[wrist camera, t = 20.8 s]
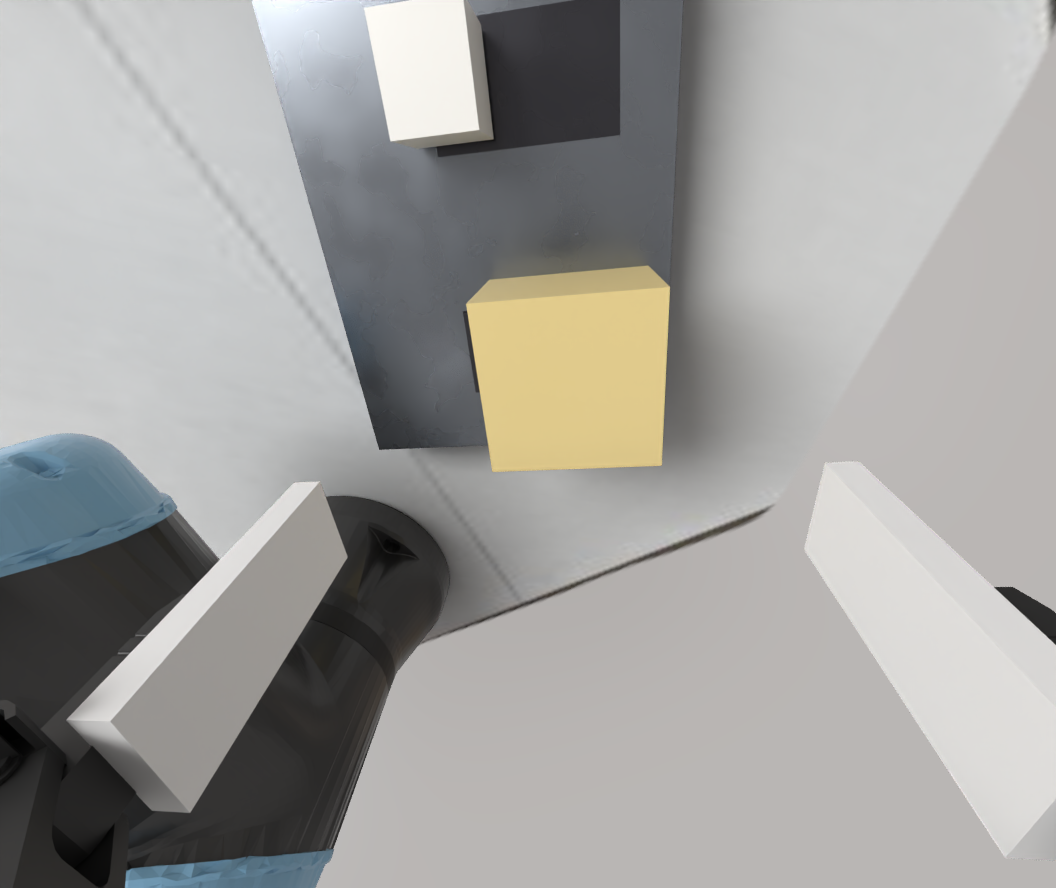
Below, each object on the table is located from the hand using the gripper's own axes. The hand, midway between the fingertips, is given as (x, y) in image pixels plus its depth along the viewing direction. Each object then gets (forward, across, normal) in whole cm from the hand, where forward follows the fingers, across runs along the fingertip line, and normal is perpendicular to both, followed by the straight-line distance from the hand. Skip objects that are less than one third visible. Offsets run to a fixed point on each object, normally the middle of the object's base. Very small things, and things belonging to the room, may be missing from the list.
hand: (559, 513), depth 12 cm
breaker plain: (+15, +4, -12) cm, 20 cm away
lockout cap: (+15, 0, 0) cm, 15 cm away
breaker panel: (+18, +4, -6) cm, 19 cm away
